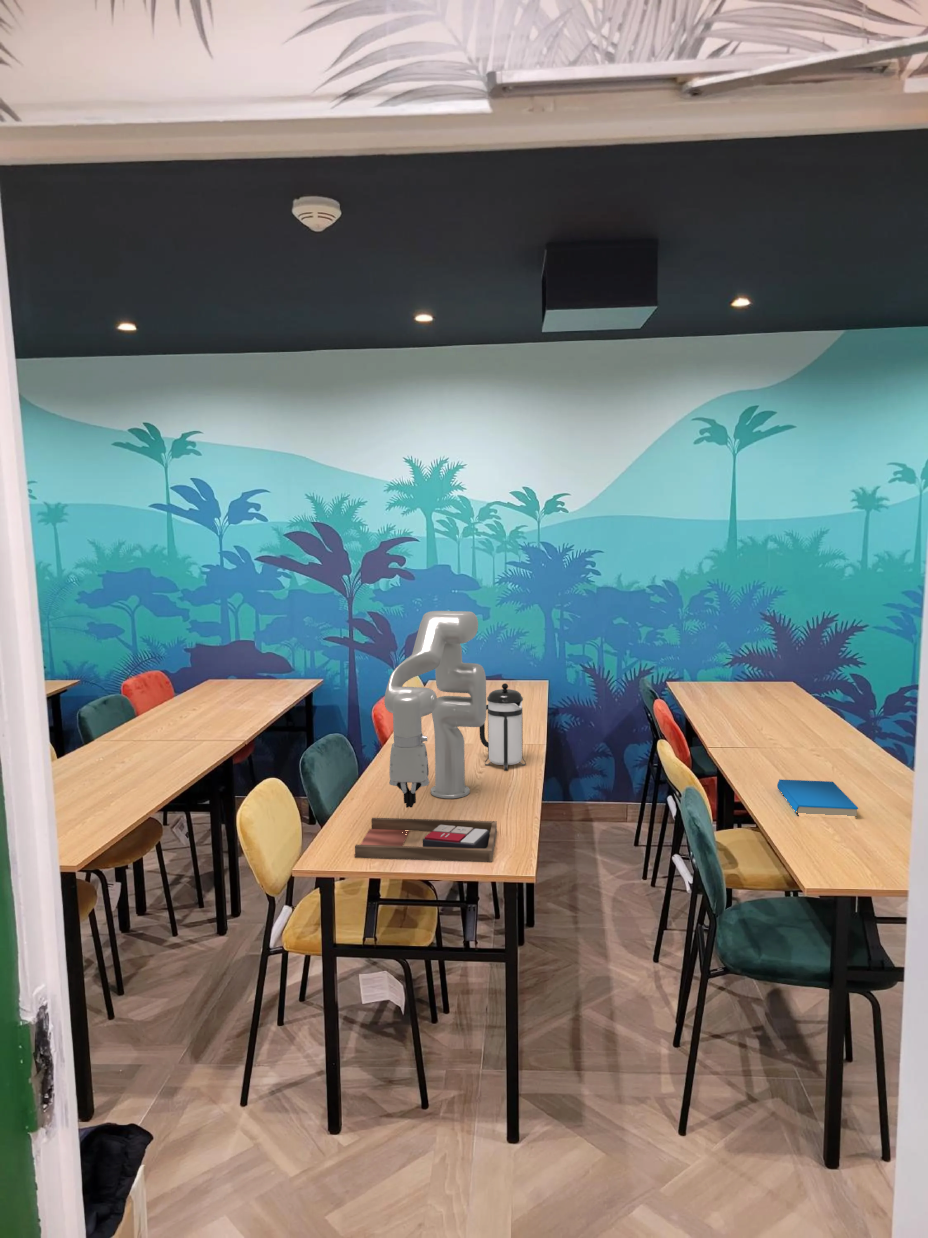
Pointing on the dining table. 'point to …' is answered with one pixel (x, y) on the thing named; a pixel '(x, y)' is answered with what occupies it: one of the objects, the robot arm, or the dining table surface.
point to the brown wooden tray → (390, 840)
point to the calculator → (457, 837)
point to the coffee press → (504, 727)
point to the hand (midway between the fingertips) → (410, 805)
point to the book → (816, 797)
